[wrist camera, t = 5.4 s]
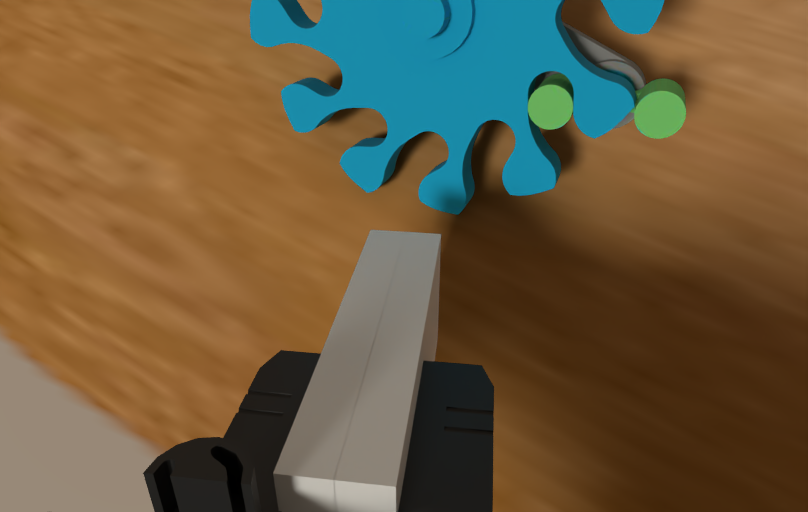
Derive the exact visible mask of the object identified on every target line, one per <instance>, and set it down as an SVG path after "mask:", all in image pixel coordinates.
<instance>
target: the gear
mask: <svg viewBox="0 0 808 512" xmlns="http://www.w3.org/2000/svg"><path fill="white" fill-rule="evenodd" d="M321 1H322V7H323V11H322V16H321V19H320V21H319V22H318V24H317V23H314V22H313V21H311V20H310V19H309V18H308V17H307V15H306V14H305V12H304V11H303V9H302V7H301V6H300V4H299V3H298V1H297V0H252V3H251V10H250V30H251V38H252V39H253V40H254V41H255V42H256V43H258V44H259V45H261V46H265V47H273V46H276V45H280V44H284V43H298V44H303V45H306V46H310V47H312V48H314V49H316V50H318V51H320V52H321V53H323V54H325V55H326V56H328V57H330V58H331V59H333V60H334V61H335V62H336V63H337V64H338V66H339V67H340V69H341V72H342V77H343V81H342V86H341V88H340V90H338V89H335V88H333V87H331V86H329V85H328V84H326V83H324V82H323V81H321V80H319V79H316V78H305V79H302V80H300V81H297V82H295V83H293V84H290V85H288V86H286V87H285V88H284V89H283V90H282V91H281V95H282V101H283V105H284V108H285V111H286V113H287V116H288V118H289V120H290V122H291V124H292V126H293V128H294V130H295V131H297V132H309V131H312V130H313V129H315V128H317V127H319V126H320V125H322V124H324V123H326V122H327V121H329V120H330V118H331V117H332V116H333V115H334V114H335V113H336V112H337V111H338V110H341V109H345V108H372V109H375V110H377V111H378V112H379V113H381V115H382V116H383V117H384V119H385V120H386V123H387V128H388V132H387V136H386V138H366V139H363V140H361V141H360V142H358V143H357V144H355V145H354V146H352V147H351V148H350V149H348V150H347V151H345V153H344V154H343V155H342V157H341V160H340V165H341V166H342V168H343V170H344V171H345V172H346V174H347V175H348V176H349V177H350V178H351V179H352V180H353V181H354V182H355V183H356V184H357V185H358V186H360V187H361V188H362V189H363V190H365V191H366V192H367V193H369V192H373V191H374V190H376V189H378V188H379V187H380V186H381V185H382V184H383V183H384V182H386V181H387V180H388V179H389V178H390V177H391V176H392V174H393V172H394V170H395V165H396V160H397V158H398V155H399V153H400V151H401V149H402V148H403V146H404V145H405V143H406V142H407V141H408V140H409V139H411V138H412V137H414V136H416V135H417V134H419V133H421V132H425V131H432V132H435V133H437V134H439V135H440V136H442V137H443V138H444V140H445V141H446V143H447V145H448V148H449V157H448V160H446V161H444V162H442V163H441V164H439V165H438V166H436V167H435V168H434V169H433V170H432V171H431V172H430V173H429V174H428V175H427V176H426V177H425V178H424V179H423V180H422V182H421V184H420V187H419V199H420V201H421V202H423V203H424V204H426V205H427V206H429V207H431V208H434V209H436V210H439V211H443V212H447V213H451V214H456V215H458V214H459V213H460V212H462V210H463V209H464V208H465V206H466V205H467V204H468V202H469V201H470V200H471V198H472V196H473V194H474V190H475V183H474V179H473V176H472V169H471V155H472V149H473V145H474V142H475V140H476V138H477V135H478V133H479V131H480V129H481V128H482V126H483V124H484V122H486V121H488V120H500V121H503V122H504V123H506V124H508V125H509V126H510V127H511V129H512V130H513V132H514V134H515V139H516V144H515V148H514V150H513V152H512V154H511V156H510V157H509V159H508V161H507V162H506V164H505V166H504V169H503V173H502V180H503V184H504V186H505V188H506V190H507V192H508V193H509V194H510V195H517V196H523V195H532V194H536V193H540V192H544V191H547V190H550V189H553V188H554V187H555V185H556V183H557V180H558V178H559V176H560V172H561V163H560V159H559V157H558V155H557V153H556V152H555V151H554V150H553V149H552V148H551V147H550V145H549V144H548V143H547V141H546V140H545V138H544V137H543V135H542V133H541V131H540V128H539V127H541V128H543V129H548V130H550V129H557V128H560V127H561V126H563V125H564V124H566V123H567V122H568V121H569V119H570V118H571V116H572V114H573V115H574V120H575V123H576V124H577V126H578V128H579V129H580V130H581V131H582V132H583V133H584V134H586V135H587V136H589V137H592V138H594V139H595V138H597V137H599V136H601V135H603V134H605V133H607V132H608V131H610V130H611V129H614V128H618V127H621V126H623V125H626V124H627V123H629V122H630V121H632V120H633V119H634V120H635V124H636V126H637V128H638V129H639V131H640V132H641V133H643V134H644V135H645V136H648V137H650V138H655V139H658V138H665V137H669V136H671V135H673V134H674V133H676V132H677V131H678V130H679V129H680V128H681V127H682V125H683V123H684V121H685V117H686V104H685V94H684V91H683V89H682V87H681V86H680V85H679V84H678V83H677V82H675V81H673V80H670V79H663V78H661V79H656V80H653V81H651V82H649V83H648V84H646V80H645V77H644V74H643V72H642V71H641V69H640V67H639V66H637V65H636V64H635V63H634V62H633V61H631V60H630V59H628V58H626V57H624V56H622V55H621V54H619V53H617V52H615V51H614V50H612V49H610V48H608V47H607V46H605V45H603V44H601V43H600V42H598V41H596V40H594V39H593V38H591V37H589V36H587V35H586V34H584V33H582V32H580V31H579V30H577V29H575V28H573V27H572V26H570V25H568V24H566V23H565V22H563V21H562V20H561V9H562V6H563V3H564V2H565V0H321ZM601 1H602V3H603V5H604V7H605V9H606V11H607V12H608V14H609V16H610V18H611V20H612V21H613V23H614V24H615V25H616V26H617V27H618V28H619V29H621V30H623V31H624V32H627V33H631V34H644V33H648V32H649V30H650V29H651V28H652V26H653V25H654V23H655V22H656V20H657V18H658V16H659V14H660V12H661V9H662V6H663V3H664V0H601ZM534 88H535V89H536V90H535V91H534Z"/></svg>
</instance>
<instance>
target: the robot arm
mask: <svg viewBox="0 0 808 512" xmlns="http://www.w3.org/2000/svg"><path fill="white" fill-rule="evenodd" d="M440 253H441V234H432V233H415V232H399V231H382V230H370V233H369V235H368V238H367V240H366V243H365V245H364V248H363V250H362V253H361V255H360V258H359V260H358V263H357V265H356V268H355V270H354V273H353V275H352V278H351V280H350V283H349V285H348V288H347V290H346V293H345V295H344V298H343V300H342V303H341V305H340V308H339V310H338V313H337V315H336V318H335V320H334V323H333V325H332V328H331V330H330V333H329V335H328V338H327V340H326V343H325V345H324V348H323V350H322V353H321V354H318V353H306V352H294V351H283V350H281V351H280V352H278V353H277V354H276V355H275V356H274V357H272V358H271V359H270V360H269V361H268V362H266V363H265V364H264V365H263V366H262V367H261V368H260V369H259V371H258V372H257V374H256V376H255V378H254V380H253V382H252V384H251V386H250V388H249V390H248V395H247V394H246V395H245V397H244V399H243V401H242V403H241V405H240V407H239V412H238V413H236V415H235V417H234V418H233V420H232V422H231V424H230V426H229V428H228V430H227V432H226V434H225V436H224V438H220V437H211V438H197V439H194V440H191V441H187V442H184V443H181V444H178V445H176V446H174V447H173V448H171V449H169V450H168V451H166V452H165V453H163V454H162V455H160V456H158V457H157V458H156V459H155V460H154V462H153V463H152V464H151V465H150V466H149V467H148V468H147V469H146V471H145V472H144V473H143V474H144V476H145V480H146V484H147V487H148V490H149V494H150V497H151V501H152V504H153V507H154V511H155V512H492V506H493V411H494V386H493V385H492V383H491V381H490V379H489V378H488V376H487V374H486V372H485V370H484V369H483V367H482V365H470V364H459V363H447V362H435V355H436V348H437V341H438V315H439V284H440Z"/></svg>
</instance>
